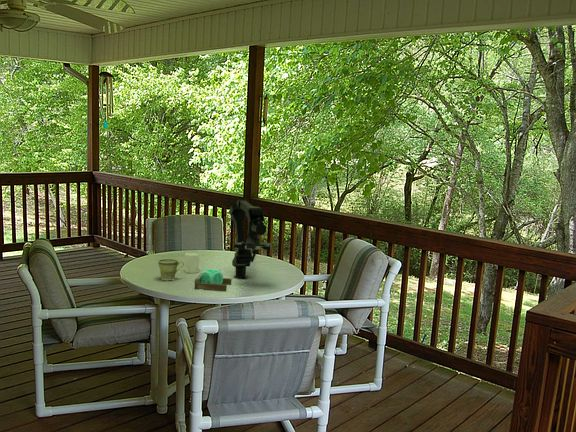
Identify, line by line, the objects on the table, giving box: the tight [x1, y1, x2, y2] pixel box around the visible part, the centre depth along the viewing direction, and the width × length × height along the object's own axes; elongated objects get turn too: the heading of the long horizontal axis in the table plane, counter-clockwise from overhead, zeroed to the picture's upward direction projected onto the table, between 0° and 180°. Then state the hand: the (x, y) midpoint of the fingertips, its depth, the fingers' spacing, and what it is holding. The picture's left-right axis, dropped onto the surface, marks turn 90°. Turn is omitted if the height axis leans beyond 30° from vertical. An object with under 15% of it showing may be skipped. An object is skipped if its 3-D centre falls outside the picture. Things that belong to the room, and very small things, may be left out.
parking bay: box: [194, 272, 232, 292], centre depth 277 cm, size 14×16×5 cm
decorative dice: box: [201, 268, 224, 284], centre depth 277 cm, size 8×8×8 cm
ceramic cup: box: [157, 258, 185, 281], centre depth 287 cm, size 13×10×10 cm
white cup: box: [184, 252, 200, 274], centre depth 305 cm, size 8×8×10 cm
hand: (252, 261), depth 283 cm, fingers closed
